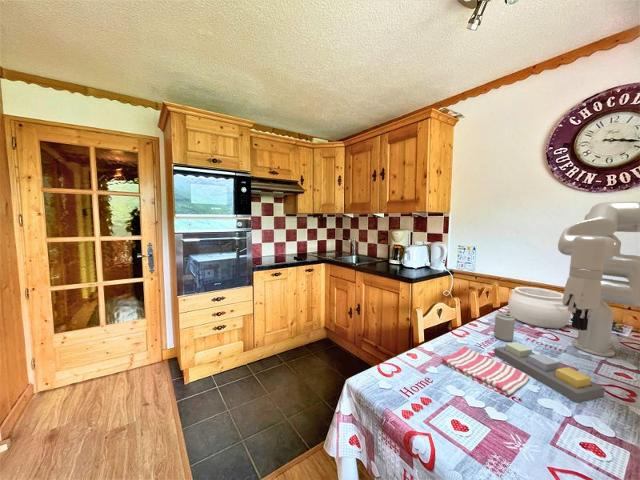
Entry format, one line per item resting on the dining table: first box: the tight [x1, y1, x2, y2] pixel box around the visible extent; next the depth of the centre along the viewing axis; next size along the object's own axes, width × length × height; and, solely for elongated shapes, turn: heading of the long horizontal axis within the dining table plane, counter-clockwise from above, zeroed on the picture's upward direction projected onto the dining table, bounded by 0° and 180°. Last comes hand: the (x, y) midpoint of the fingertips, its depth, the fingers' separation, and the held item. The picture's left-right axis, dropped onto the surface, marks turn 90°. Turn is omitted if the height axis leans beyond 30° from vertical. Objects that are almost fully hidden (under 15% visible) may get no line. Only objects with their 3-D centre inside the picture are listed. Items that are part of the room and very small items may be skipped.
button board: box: [493, 346, 606, 403], centre depth 93 cm, size 12×28×3 cm, turn 14°
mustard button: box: [555, 366, 592, 389], centre depth 84 cm, size 6×6×3 cm
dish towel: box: [441, 345, 530, 397], centre depth 94 cm, size 17×23×4 cm
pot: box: [507, 286, 572, 329], centre depth 141 cm, size 29×26×16 cm
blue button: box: [528, 353, 560, 372], centre depth 93 cm, size 6×6×3 cm
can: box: [493, 311, 516, 342], centre depth 120 cm, size 8×8×12 cm
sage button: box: [504, 341, 533, 358], centre depth 101 cm, size 6×6×3 cm
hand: (579, 328), depth 84 cm, fingers closed
